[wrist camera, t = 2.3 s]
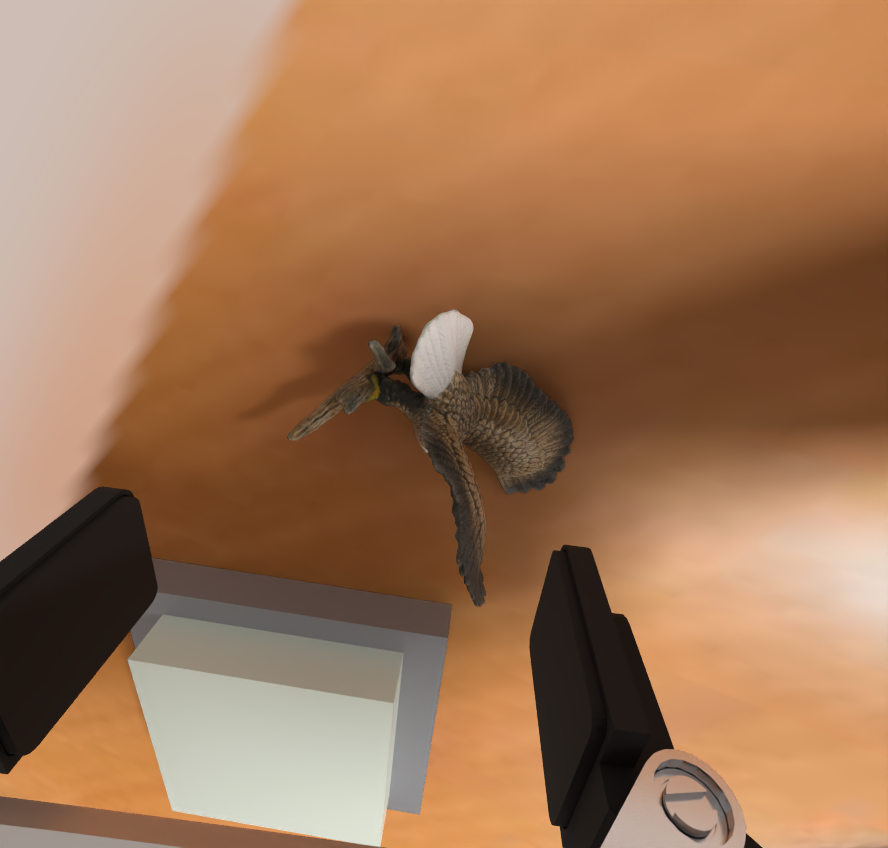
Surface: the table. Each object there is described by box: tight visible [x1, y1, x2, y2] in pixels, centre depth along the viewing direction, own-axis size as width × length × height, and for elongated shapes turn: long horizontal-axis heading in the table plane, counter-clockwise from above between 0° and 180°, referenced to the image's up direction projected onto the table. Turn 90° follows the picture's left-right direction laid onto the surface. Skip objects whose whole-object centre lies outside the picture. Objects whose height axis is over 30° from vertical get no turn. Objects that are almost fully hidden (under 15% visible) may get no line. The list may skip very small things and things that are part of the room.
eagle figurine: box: [287, 309, 574, 606], centre depth 16 cm, size 8×7×9 cm
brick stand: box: [127, 558, 452, 847], centre depth 26 cm, size 16×16×5 cm
